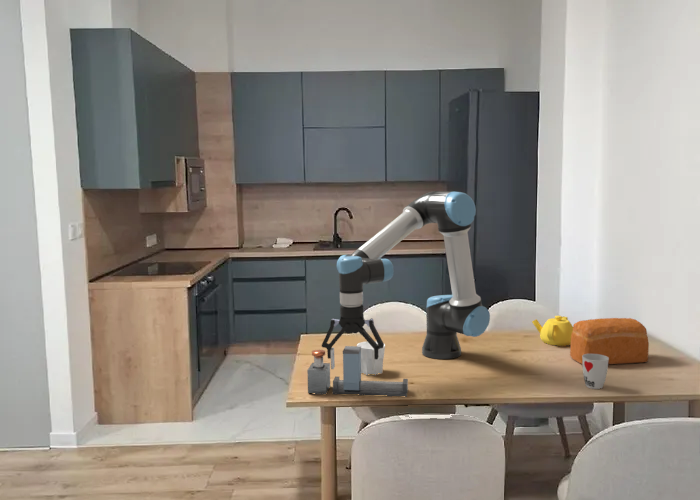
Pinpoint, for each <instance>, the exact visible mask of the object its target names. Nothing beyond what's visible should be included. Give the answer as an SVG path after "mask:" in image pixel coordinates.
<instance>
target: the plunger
mask: <svg viewBox="0 0 700 500" xmlns="http://www.w3.org/2000/svg"><path fill="white" fill-rule="evenodd" d="M311 356H313V360H314V361H313V363H314V368H323V363H324V356H326V350H323V349H315V350H312V351H311Z"/></svg>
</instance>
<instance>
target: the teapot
mask: <svg viewBox="0 0 700 500" xmlns="http://www.w3.org/2000/svg"><path fill="white" fill-rule="evenodd" d="M531 323H532V324H533V326H534V327H535V328H536V330H537V332H539V338H540V339H541V341H542V342H543V343H544V344H546V343H547V345H549V344H550V345H551V346H555V345H557V346H559V347H566V345H568V346H571V334H572V332H573V325H572V323H571V322H570V320H569V318H568V316H561V315H554V317H553V318H548V319H547V320H546V321H545V323H544V324H543V326H542V325H541V324H540V321H539V320H538V319H537V318H536V319H534V320H532V321H531Z"/></svg>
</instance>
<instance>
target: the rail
mask: <svg viewBox="0 0 700 500" xmlns="http://www.w3.org/2000/svg"><path fill="white" fill-rule="evenodd" d="M408 382H409V379H408V378H403V379H402V381H386V380H385V381H384V380H381V381H380V380H378V381H377V380H361V381H360V382H359V390H344V383H343V379H340V376H334V379H333V380H332V393H331V394H332V395H337V394H359V395H358V396H364V395H387V396H386V397H392V396H405V397H404V398H407V397H408V391H409V385H408Z"/></svg>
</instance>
